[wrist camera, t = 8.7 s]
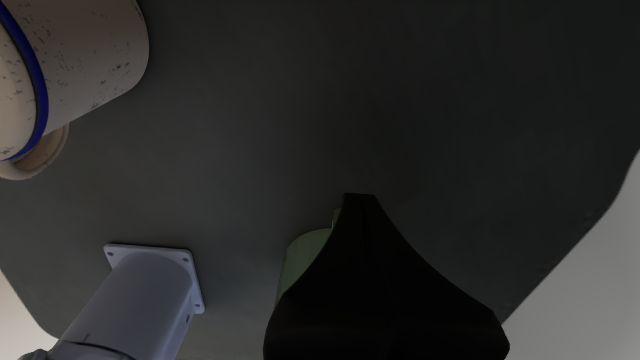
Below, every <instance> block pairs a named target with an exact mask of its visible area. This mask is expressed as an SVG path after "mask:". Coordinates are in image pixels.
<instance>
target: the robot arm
mask: <svg viewBox="0 0 640 360" xmlns="http://www.w3.org/2000/svg"><path fill="white" fill-rule="evenodd" d="M103 249H104V252H105V254H106V256H107V258H108V260H109V262H110V264H111V267H112V269H113V270H112V271H111V273H110V274H109V275H108V277H107V278H106V279H105V281H104V282H103V283H102V284H101V286H100V287H99V288H98V290H97V291H96V292H95V294H94V295H93V296H92V297H91V299H90V300H89V301H88V303H87V304H86V305H85V306H84V308H83V309H82V310H81V312H80V313H79V314H78V316H77V317H76V318H75V319H74V321H73V322H72V323H71V325H70V326H69V327H68V328H67V330H66V331H65V332H64V334H63V335H62V336H61V338H60V339H59V340H58V341H57V343H56V344H55V345H54V347H53V348H52V349H50V350H49V351H45V350H43V349H37V350H35V351H34V352H31V353H28V354H25V355H23V356H21V357H20V358H19V359H18V360H175V357H176V355H177V353H178V350H179V348H180V346H181V343H182V341H183V339H184V336H185V334H186V331H187V329H188V327H189V324H190V322H191V320H192V317H193V315H194V313H199V314H200V313H203V312H204V310H205V307H204V303H203V299H202V295H201V290H200V286H199V282H198V278H197V274H196V270H195V265H194V261H193V257H192V253H191V252H190V251H189V250H185V249H172V248H160V247H147V246H134V245H122V244H106V245H105V246H104V247H103ZM509 350H510V343H509V341H508V339H507V337H506V335H505V333H504V330H503V328H502V326H501V324H500V322H499V321H498V319H497V317H496V316H495V314H494V312H493V310H491V309H489V308H488V307H486V306H485V305H483V304H482V303H480V302H479V301H477V300H475V299H474V298H472V297H471V296H469V295H468V294H466V293H465V292H463V291H462V290H461V289H459V288H458V287H457V286H455V285H454V284H453V283H451V282H450V281H449V280H447V279H446V278H445V277H444V276H442V275H441V274H440V273H439V272H438V271H436V270H435V269H434V268H433V267H432V266H431V265H429V264H428V263H427V262H426V261H425V260H424V259H423V258H422V257H421V256H420V255H419V254H418V253H417V252H416V251H415V250H414V249H413V248H412V247H411V246H410V244H409V243H408V242H407V241H406V240H405V239H404V237H403V236H402V235H401V234H400V232H399V231H398V230H397V228H396V227H395V226H394V224H393V223H392V222H391V220H390V219H389V217H388V216H387V214H386V213H385V211H384V210H383V208H382V207H381V205H380V204H379V202H378V200H377V199H376V197H375V196H374V195H369V194H357V193H344V194H343V197H342V204H341V210H340V213H339V216H338V219H337V221H336V223H335V226H334V228H333V230H332V232H331V234H330V236H329V238H328V239H327V241H326V243H325V244H324V246H323V248H322V249H321V251H320V252H319V253H318V255H317V256H316V258H315V259H314V261H313V262H312V263H311V264H310V266H309V267H308V268H307V269H306V270H305V271H304V273H303V274H302V275H301V276H300V277H299V278H298V279H297V280H296V281H295V282H294V283H293V284H292V285H291V286H290V287H289V288H288V289H287V290H286V291H285V292H284V293H283V294H282V296H281V298H280V299H279V301H278V303H277V305H276V307H275V309H274V311H273V313H272V315H271V318H270V320H269V323H268V326H267V329H266V334H265V339H264V345H263V358H264V360H504V359H505V358H506V356H507V354H508V352H509Z"/></svg>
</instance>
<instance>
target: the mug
mask: <svg viewBox="0 0 640 360" xmlns="http://www.w3.org/2000/svg"><path fill="white" fill-rule="evenodd" d="M340 210H341V208H338V209H336V210H335V211H334V214H333V221H332V228H324V229H318V230H314V231H310V232H307V233H305V234H303V235H301V236H299V237H298V238H297V239H295V240H294V241H293V242H292V243H291V244H290V245H289V247H288V248H287V250H286V252H285V256H284V259H283V263H282V268H281V274H280V279H279V284H278V290H277V295H276V301H275V306H274V309H275V307H276V305H277V303H278V301H279V299H280V298H281V296H282V294H283V293H284V292H285V291H286V290H287V289H288V288H289V287H290V286H291V285H292V284H293V283H294V282H295V281H296V280H297V279H298V278H299V277H300V276H301V275H302V274H303V273H304V271H305V270H306V269H307V268H308V267H309V266H310V264H311V263H312V262H313V261H314V259H315V258H316V256H317V255H318V253H319V252H320V251H321V249H322V248H323V246H324V244H325V243H326V241H327V239H328V238H329V236H330V234H331V232H332V230H333V228H334V226H335V223H336V221H337V219H338V216H339V213H340Z"/></svg>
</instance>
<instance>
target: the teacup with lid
mask: <svg viewBox="0 0 640 360" xmlns="http://www.w3.org/2000/svg"><path fill="white" fill-rule="evenodd" d="M148 57H149V38H148V32H147V28H146V24H145V21H144V18H143V15H142V12H141V10H140V8H139V6H138V4H137V2H136V0H0V177H2V178H7V179H11V180H24V179H28V178H31V177H33V176H35V175H37V174H39V173H40V172H42V171H43V170H45V169H46V168H47V167H48V166H49V165H50V164H51V163H52V162H53V161H54V160H55V159H56V157H57V156H58V155H59V153H60V152H61V150H62V148H63V146H64V144H65V142H66V140H67V136H68V131H69V122H71V121H73V120H75V119H76V118H78V117H80V116H82V115H84V114H86V113H88V112H90V111H92V110H93V109H95V108H97V107H99V106H101V105H103V104H105V103H107V102H109V101H110V100H112V99H114V98H116V97H118V96H120V95H122V94H124V93H125V92H127V91H129V90H130V89H132V88H133V87H134V86H135V85H136V84H137V83H138V82H139V80H140V79H141V78H142V76H143V74H144V72H145V69H146V66H147V62H148ZM32 147H33V149H32V150H31V151H30V152H29V153H28V154H27V155H25V156H24V157H23V158H21V159H20V160H18V161H16V162H14V163H12V162H11V160H10V159H13V158H15V157H18V156H20V155H22V154H24V153H26V152H27V151H29V150H30V149H31V148H32Z"/></svg>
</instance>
